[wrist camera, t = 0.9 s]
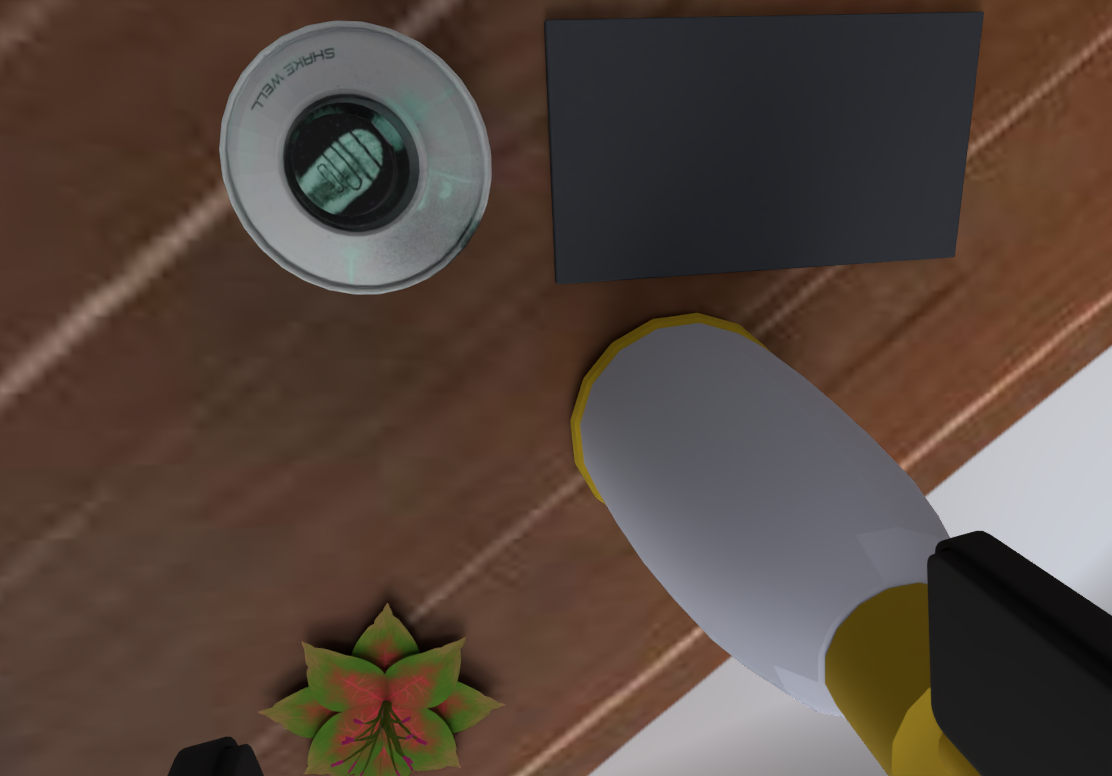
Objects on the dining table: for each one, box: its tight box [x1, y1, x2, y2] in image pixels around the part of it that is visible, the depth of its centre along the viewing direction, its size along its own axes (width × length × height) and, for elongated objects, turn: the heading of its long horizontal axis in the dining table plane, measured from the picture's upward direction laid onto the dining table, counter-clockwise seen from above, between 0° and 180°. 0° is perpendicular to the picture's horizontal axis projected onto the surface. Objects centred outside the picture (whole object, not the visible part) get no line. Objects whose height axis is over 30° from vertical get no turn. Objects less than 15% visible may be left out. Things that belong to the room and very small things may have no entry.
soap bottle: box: [570, 313, 981, 776], centre depth 24 cm, size 11×12×26 cm
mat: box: [544, 12, 984, 284], centre depth 33 cm, size 11×20×1 cm, turn 93°
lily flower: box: [258, 603, 505, 776], centre depth 37 cm, size 12×12×5 cm
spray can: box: [219, 21, 491, 294], centre depth 22 cm, size 6×6×20 cm
